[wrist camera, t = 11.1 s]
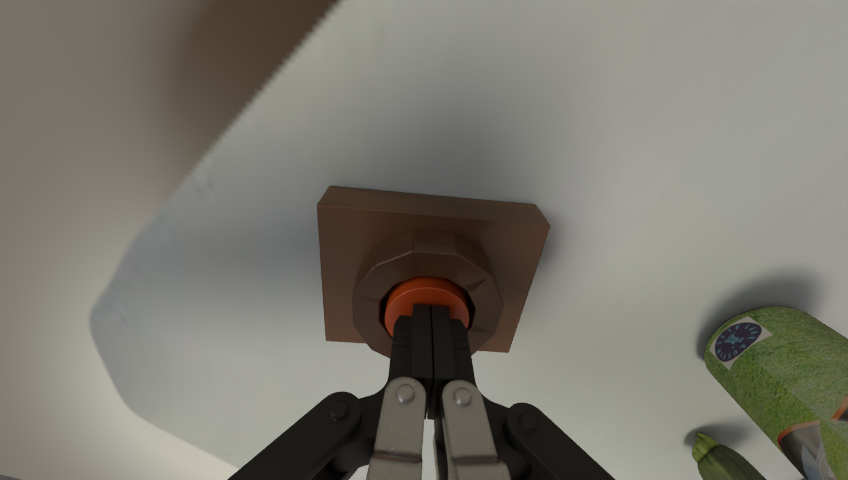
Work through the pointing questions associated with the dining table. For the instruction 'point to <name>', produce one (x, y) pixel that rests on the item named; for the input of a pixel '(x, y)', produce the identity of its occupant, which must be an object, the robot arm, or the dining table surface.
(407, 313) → the button
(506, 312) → the button block
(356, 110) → the dining table surface
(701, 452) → the vegetable
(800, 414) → the beverage can
